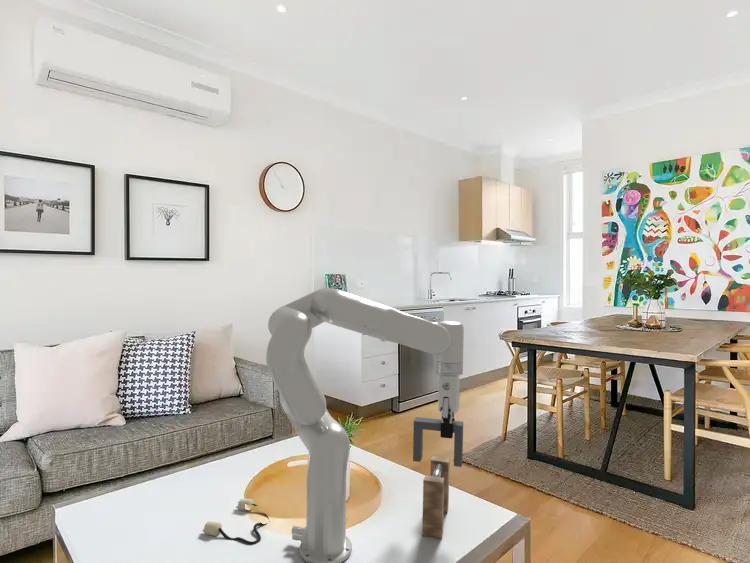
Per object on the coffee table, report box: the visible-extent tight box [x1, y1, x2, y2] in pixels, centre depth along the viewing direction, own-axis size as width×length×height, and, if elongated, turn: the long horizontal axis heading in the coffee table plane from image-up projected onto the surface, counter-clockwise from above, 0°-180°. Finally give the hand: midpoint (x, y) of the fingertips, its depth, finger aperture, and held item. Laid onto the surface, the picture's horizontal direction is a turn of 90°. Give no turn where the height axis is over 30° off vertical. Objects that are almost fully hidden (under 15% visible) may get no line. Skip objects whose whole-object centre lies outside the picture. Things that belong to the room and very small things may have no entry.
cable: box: [202, 498, 263, 545], centre depth 124 cm, size 16×16×4 cm
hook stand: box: [421, 455, 451, 540], centre depth 127 cm, size 5×16×14 cm, turn 165°
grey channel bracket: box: [412, 417, 464, 468], centre depth 126 cm, size 13×4×11 cm, turn 75°
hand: (447, 434), depth 126 cm, fingers closed on grey channel bracket, 3 cm apart
